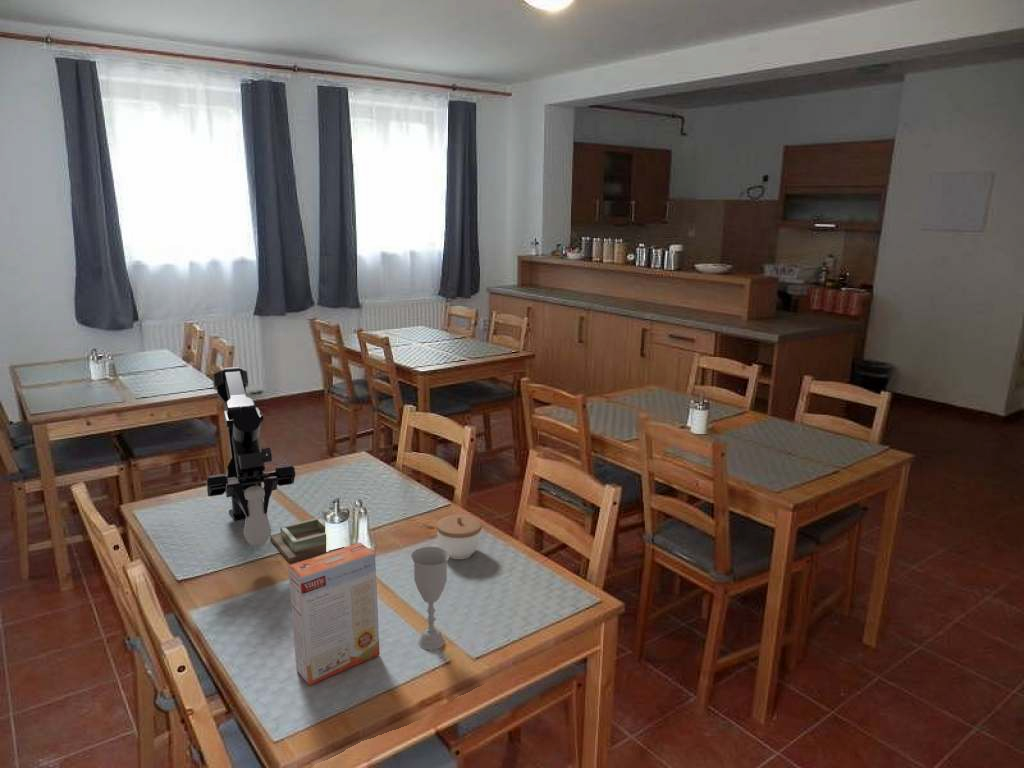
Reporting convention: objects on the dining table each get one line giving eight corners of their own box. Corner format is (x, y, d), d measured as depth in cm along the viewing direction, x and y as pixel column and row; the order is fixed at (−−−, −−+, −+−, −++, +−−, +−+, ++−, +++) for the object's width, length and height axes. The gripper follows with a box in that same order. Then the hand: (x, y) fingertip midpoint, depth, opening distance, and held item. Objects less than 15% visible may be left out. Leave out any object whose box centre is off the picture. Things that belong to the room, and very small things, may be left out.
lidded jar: (453, 569, 159) (453, 531, 157) (428, 551, 167) (427, 515, 165) (490, 555, 166) (491, 519, 164) (464, 538, 174) (464, 504, 172)
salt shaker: (243, 548, 154) (239, 494, 151) (245, 537, 159) (240, 484, 156) (271, 545, 156) (267, 491, 152) (272, 534, 161) (268, 481, 158)
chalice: (405, 640, 132) (403, 554, 128) (433, 626, 137) (432, 543, 133) (429, 658, 127) (427, 569, 123) (457, 642, 132) (457, 556, 128)
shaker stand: (270, 539, 171) (269, 526, 171) (325, 525, 179) (324, 512, 179) (289, 562, 160) (288, 548, 160) (346, 546, 169) (346, 532, 168)
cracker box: (365, 640, 132) (361, 540, 127) (380, 656, 128) (377, 552, 123) (294, 669, 123) (286, 563, 118) (308, 687, 119) (301, 577, 114)
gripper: (202, 441, 151) (211, 508, 144) (291, 431, 159) (303, 494, 152) (203, 463, 159) (211, 527, 153) (287, 452, 168) (298, 512, 161)
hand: (256, 515), depth 154 cm, fingers closed on salt shaker, 3 cm apart
